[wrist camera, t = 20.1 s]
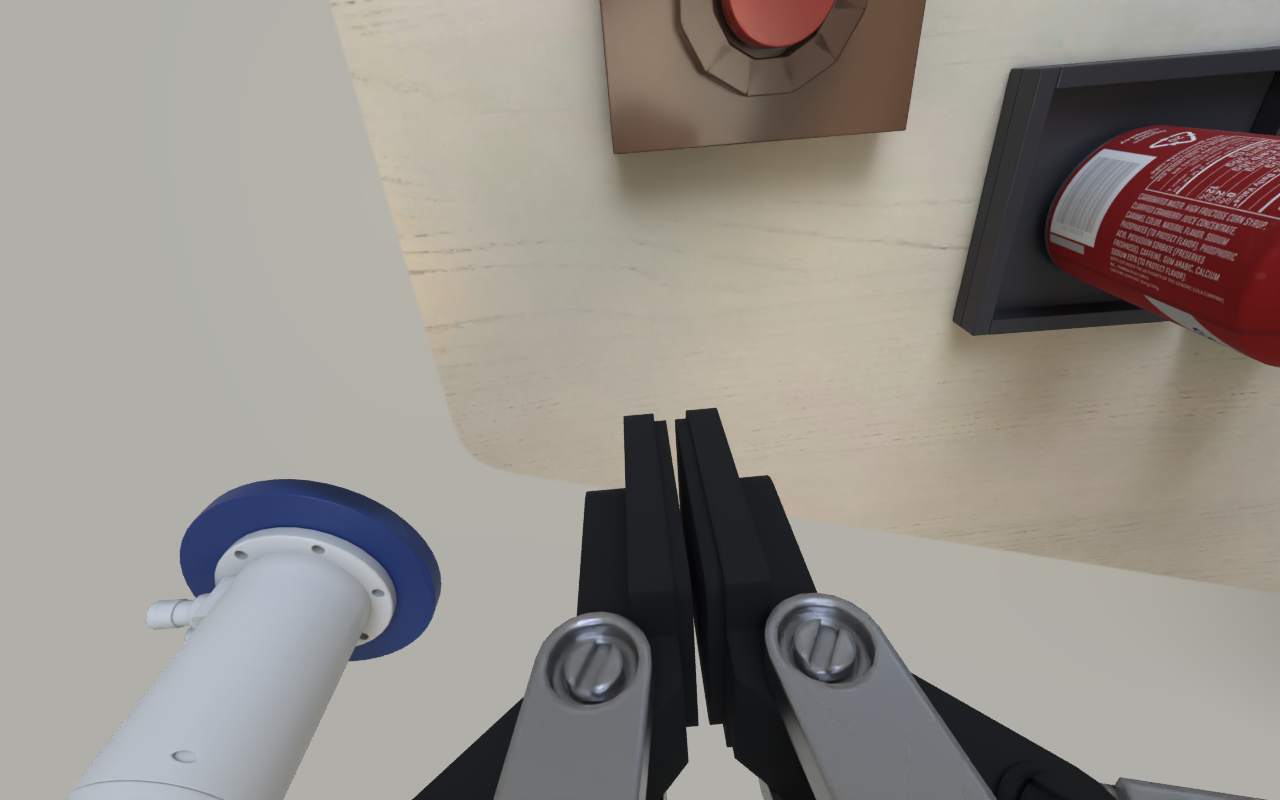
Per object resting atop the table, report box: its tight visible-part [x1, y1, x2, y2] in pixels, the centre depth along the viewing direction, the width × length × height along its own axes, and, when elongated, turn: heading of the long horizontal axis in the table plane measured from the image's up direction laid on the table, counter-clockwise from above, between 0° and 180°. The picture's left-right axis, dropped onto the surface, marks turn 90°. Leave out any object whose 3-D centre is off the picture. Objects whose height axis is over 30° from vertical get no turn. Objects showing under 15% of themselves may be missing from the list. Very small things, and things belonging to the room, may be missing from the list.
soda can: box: [1045, 125, 1280, 367], centre depth 21 cm, size 7×7×12 cm
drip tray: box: [953, 46, 1280, 336], centre depth 26 cm, size 12×12×2 cm
